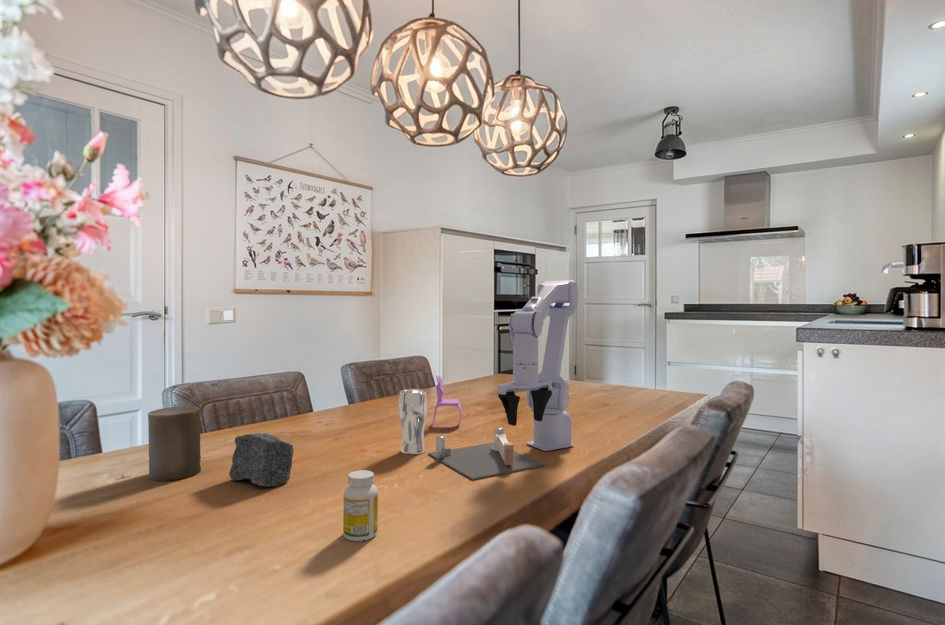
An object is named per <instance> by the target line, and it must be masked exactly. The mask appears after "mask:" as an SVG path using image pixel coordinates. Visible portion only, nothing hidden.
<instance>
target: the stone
mask: <svg viewBox="0 0 945 625" xmlns="http://www.w3.org/2000/svg"><path fill="white" fill-rule="evenodd" d="M234 443H235V449H234V452H233V455H232V457H231V458H232V459H231V463H232V465H231V467H230V471H229V474H228V475H229V478H230V479H231V480H232V481H242V480H250V482H251V483H252V484H253V485H257V486H259V487H262V488H263V487H265V488H266V487H267V488H269V487H277V486H282V485H283V484H285V483H287V482H288V481H290V478H291V477H290V476H291V471H292V470H291V469H292V465H293V457H294V445H293V444H292V443H290V442H286V441H284V440H282V439H280V438H279V437H276V436H274V435H273V434H269V433H266V432H260V433H259V432H257V433H247V434H243V435H237V436H236V437H235V438H234ZM281 484H282V485H281Z"/></svg>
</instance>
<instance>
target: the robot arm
mask: <svg viewBox="0 0 945 625" xmlns="http://www.w3.org/2000/svg"><path fill="white" fill-rule="evenodd" d="M536 289H537V290H536V291H537V292H536V294H537V296H531V298H530V299H529V300H528V301H527V302H526V304H525V305H524V306H523V307H522V308H521V310H520V311H517V310H516V311H514V313H512V314H511V315H510V317H509V321H508V322H509V323H508V329H509V333H510V334H509V335H510V341H511V344H512V345H513V346H512V359H513V361H512V381H510V382H507V383H502V384H501V383H500V384H497V394H498V395H497V396H498V399H500V402H501V405H502V406H503V409H504V412H505V415H506V418H507V424H508V425H509V426H510V425H511V426H517V422H518V408H519V403H520V399H521V396H520V395H516V394H517V393H521V392H526V404H527V405H528V407H529V409H531V412H533V440H531V441H527V442H526V445H529V446H531V447H533V448H535V449H539V450H541V451H543V452H548V451H554V450H559V449H565V448H570V447H574V444H573V443H572V418H571V416H570V413H569V412H568V411H566V410H568V407H569V403H570V392H569V390H570V385H569V383H568V381H567V380H566V379H565V378H564V377H563V376H561V370H562V362H563V356H564V351H565V342H566V335H567V328H568V324H569V318H570V317H572V316H573V315H575V314H576V310H577V305H578V304H577V303H578V298H579V294H578V292H579V291H578V284H577V282H576V281H575V280H574V279H570V280H540V282H539V283H538V285H537V288H536ZM547 317H549V323H548V331H547V337H546V343H545V350H544V354H543V361H542V365H541V366H542V367H541V371H540V372H539V337H540V336H541V335H542V331H543V326H544V321H545V319H547Z"/></svg>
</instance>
